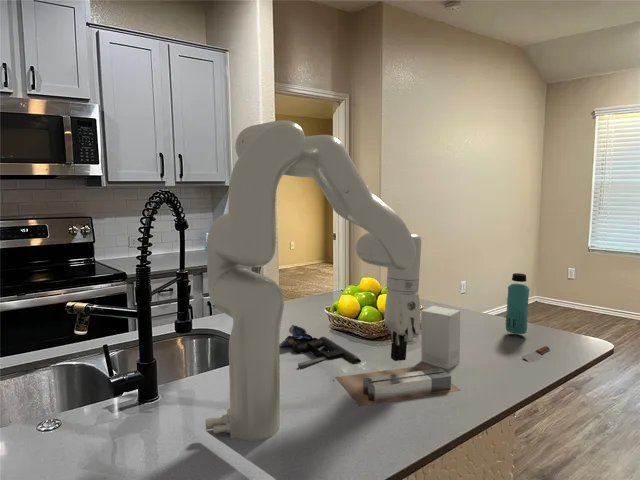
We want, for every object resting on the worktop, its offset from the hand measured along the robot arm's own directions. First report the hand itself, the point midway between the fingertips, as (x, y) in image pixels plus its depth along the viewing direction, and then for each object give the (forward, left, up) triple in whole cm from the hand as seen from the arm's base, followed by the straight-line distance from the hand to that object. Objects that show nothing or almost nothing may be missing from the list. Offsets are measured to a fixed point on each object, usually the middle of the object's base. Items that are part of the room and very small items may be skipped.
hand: (398, 359), depth 114 cm
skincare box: (+15, +5, -6) cm, 17 cm away
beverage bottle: (+52, +20, -6) cm, 56 cm away
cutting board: (-2, -3, -6) cm, 7 cm away
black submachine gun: (-13, +20, -7) cm, 25 cm away
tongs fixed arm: (-1, -9, -5) cm, 10 cm away
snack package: (-16, +34, -7) cm, 38 cm away
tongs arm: (-1, -6, -4) cm, 8 cm away
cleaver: (+46, +4, -7) cm, 47 cm away
